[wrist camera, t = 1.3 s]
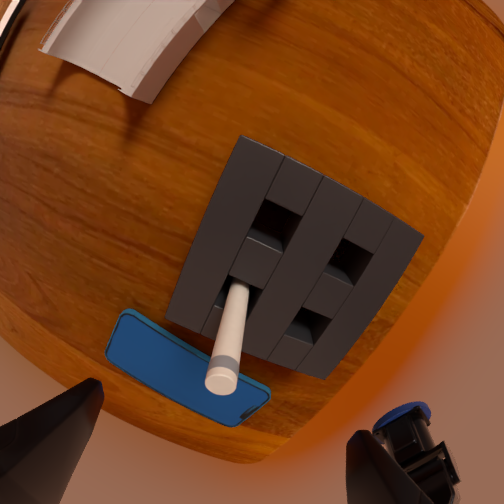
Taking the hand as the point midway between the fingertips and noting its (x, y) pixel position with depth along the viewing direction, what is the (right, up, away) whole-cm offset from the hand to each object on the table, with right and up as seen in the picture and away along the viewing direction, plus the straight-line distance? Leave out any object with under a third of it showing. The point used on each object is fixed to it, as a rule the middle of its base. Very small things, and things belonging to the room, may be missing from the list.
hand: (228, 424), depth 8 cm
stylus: (0, +4, +12) cm, 13 cm away
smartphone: (-5, -5, +16) cm, 18 cm away
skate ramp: (-5, +24, +6) cm, 25 cm away
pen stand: (+3, +5, +12) cm, 13 cm away
